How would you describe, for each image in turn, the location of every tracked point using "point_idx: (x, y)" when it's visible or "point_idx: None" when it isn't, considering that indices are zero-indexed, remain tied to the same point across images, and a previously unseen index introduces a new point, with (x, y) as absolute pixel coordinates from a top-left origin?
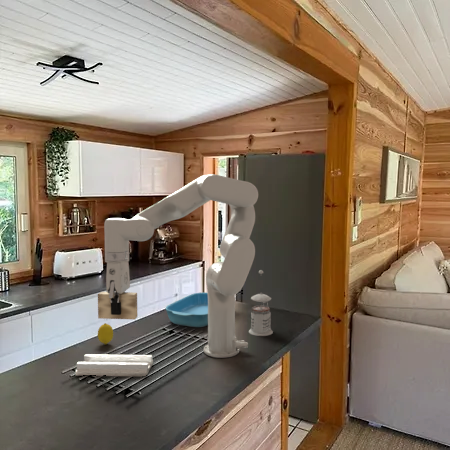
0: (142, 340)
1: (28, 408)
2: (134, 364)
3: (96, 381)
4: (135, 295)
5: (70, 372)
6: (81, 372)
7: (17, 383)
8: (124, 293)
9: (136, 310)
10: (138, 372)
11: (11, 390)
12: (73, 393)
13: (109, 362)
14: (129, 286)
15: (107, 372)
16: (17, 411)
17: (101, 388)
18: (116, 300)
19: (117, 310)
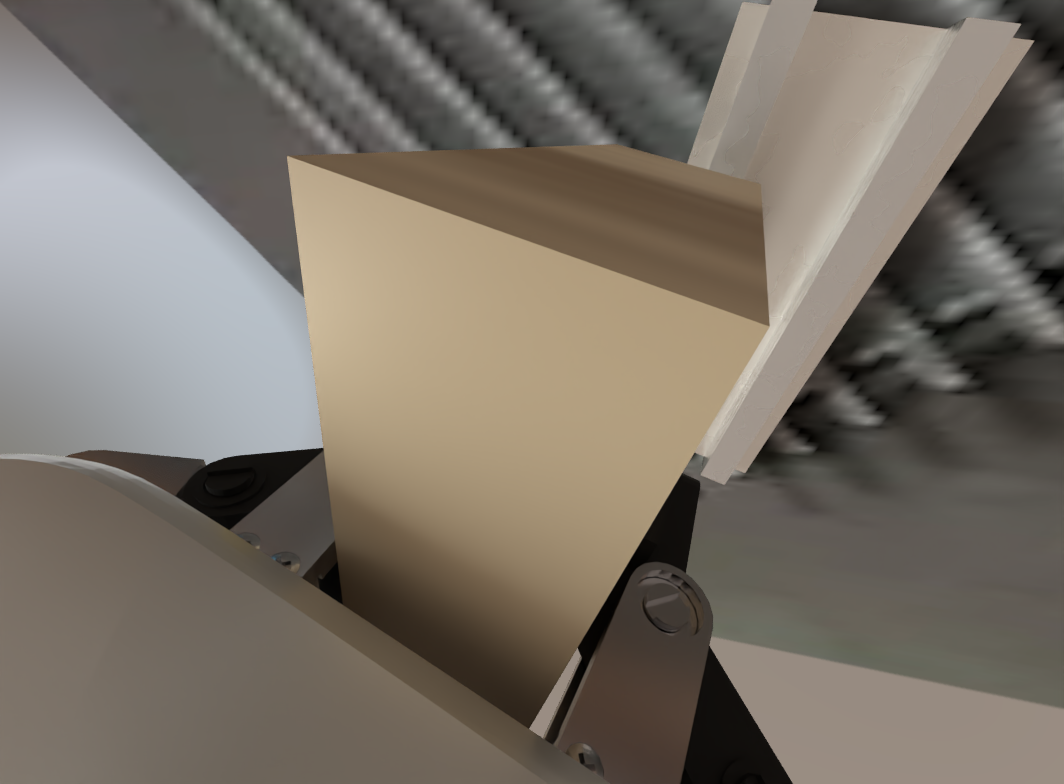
0: (372, 132)
1: (1038, 646)
2: (929, 159)
3: (882, 388)
4: (594, 236)
5: (700, 473)
6: (758, 449)
7: (734, 615)
8: (441, 582)
9: (636, 161)
10: (977, 120)
11: (792, 639)
12: (987, 496)
13: (784, 339)
14: (22, 479)
15: (834, 338)
16: (1039, 674)
17: (1022, 372)
18: (734, 701)
19: (695, 494)
